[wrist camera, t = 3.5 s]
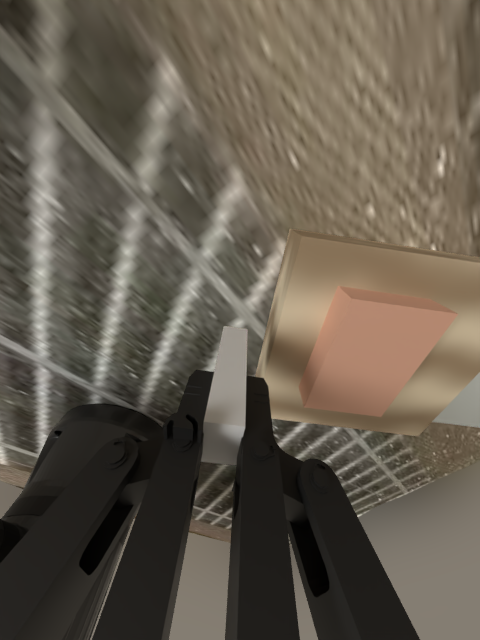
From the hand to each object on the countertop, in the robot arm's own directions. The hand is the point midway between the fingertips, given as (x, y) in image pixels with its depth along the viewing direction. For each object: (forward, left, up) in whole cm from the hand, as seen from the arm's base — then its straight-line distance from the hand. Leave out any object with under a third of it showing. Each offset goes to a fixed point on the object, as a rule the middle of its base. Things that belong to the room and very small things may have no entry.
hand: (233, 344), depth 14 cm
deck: (-1, -11, -6) cm, 12 cm away
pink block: (0, -9, -2) cm, 9 cm away
